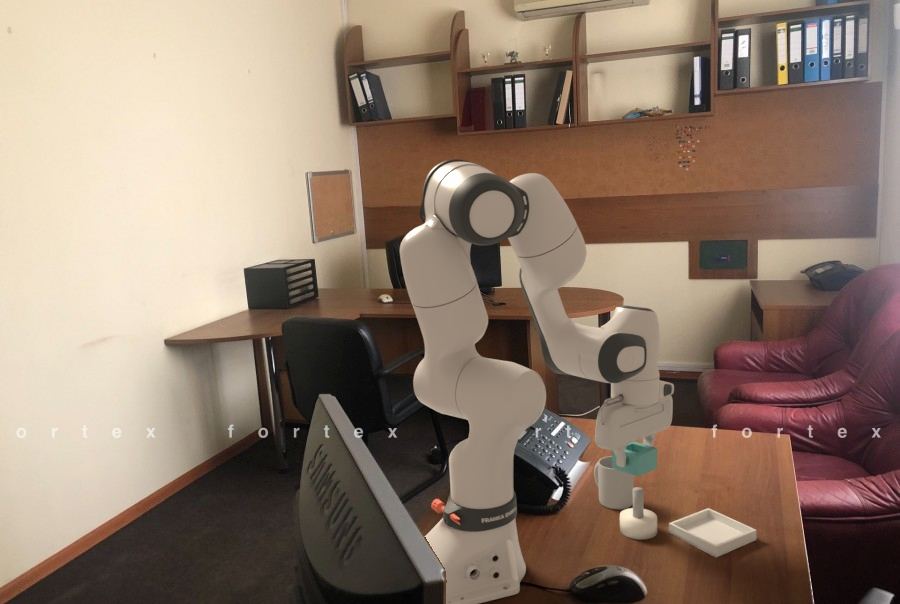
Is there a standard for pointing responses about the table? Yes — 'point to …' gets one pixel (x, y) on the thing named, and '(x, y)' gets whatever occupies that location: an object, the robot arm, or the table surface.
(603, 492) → the cup
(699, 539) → the tray
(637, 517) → the peg stand
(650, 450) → the teal hollow block
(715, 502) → the table surface
